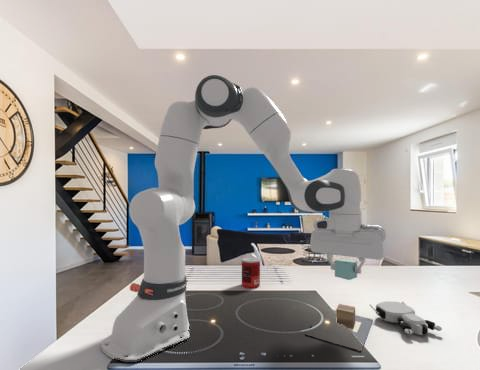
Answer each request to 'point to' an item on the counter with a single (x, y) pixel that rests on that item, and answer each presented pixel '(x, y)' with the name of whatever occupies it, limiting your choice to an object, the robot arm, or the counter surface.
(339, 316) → the walnut block
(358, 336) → the mat
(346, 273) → the teal block
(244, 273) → the canned food
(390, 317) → the robot toy
